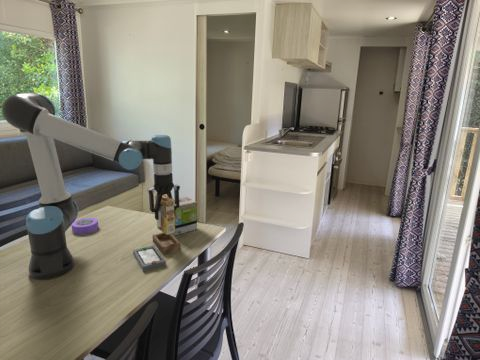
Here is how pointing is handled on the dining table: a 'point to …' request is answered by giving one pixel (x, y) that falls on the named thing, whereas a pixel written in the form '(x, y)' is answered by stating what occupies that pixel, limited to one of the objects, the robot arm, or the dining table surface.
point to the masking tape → (84, 225)
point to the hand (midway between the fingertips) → (165, 224)
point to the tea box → (185, 216)
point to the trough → (166, 243)
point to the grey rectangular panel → (148, 256)
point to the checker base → (154, 263)
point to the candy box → (167, 215)
